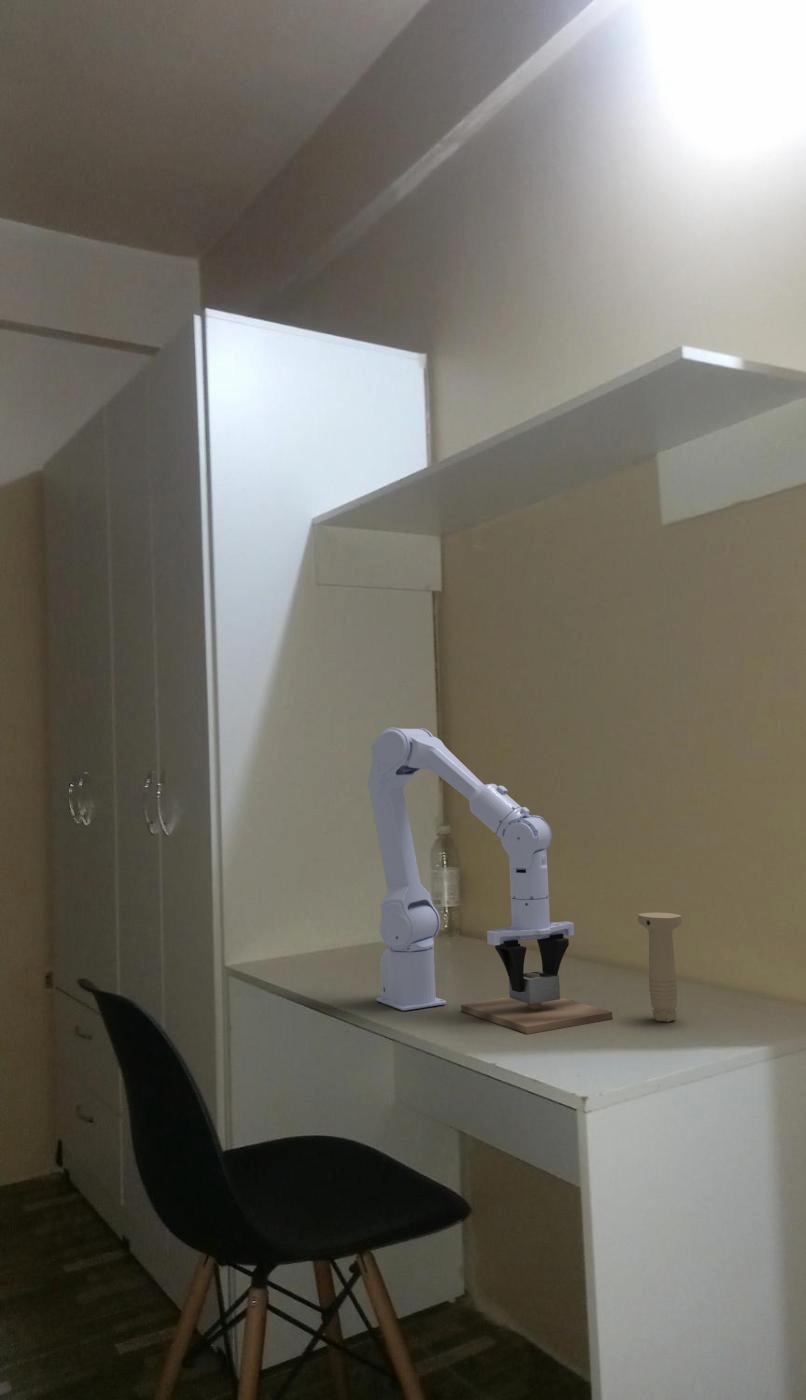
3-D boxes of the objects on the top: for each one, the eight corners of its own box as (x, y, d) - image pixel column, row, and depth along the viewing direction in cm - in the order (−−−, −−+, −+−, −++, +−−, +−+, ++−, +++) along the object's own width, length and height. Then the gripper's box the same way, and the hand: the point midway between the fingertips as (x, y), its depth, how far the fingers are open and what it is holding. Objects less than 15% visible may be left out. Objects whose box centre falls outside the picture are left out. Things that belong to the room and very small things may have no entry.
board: (461, 1011, 172) (459, 971, 172) (541, 998, 179) (539, 960, 179) (527, 1034, 156) (525, 990, 156) (612, 1018, 163) (610, 977, 163)
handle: (659, 1013, 165) (654, 911, 166) (693, 1020, 160) (687, 915, 161) (636, 1018, 162) (631, 915, 163) (670, 1026, 157) (664, 919, 158)
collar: (509, 997, 169) (508, 974, 169) (539, 993, 171) (538, 970, 171) (530, 1004, 164) (529, 979, 164) (560, 999, 166) (559, 975, 167)
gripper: (503, 904, 161) (507, 999, 161) (584, 895, 168) (588, 986, 168) (478, 899, 168) (481, 991, 167) (557, 891, 174) (561, 979, 174)
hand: (533, 988), depth 168 cm, fingers closed on collar, 5 cm apart
